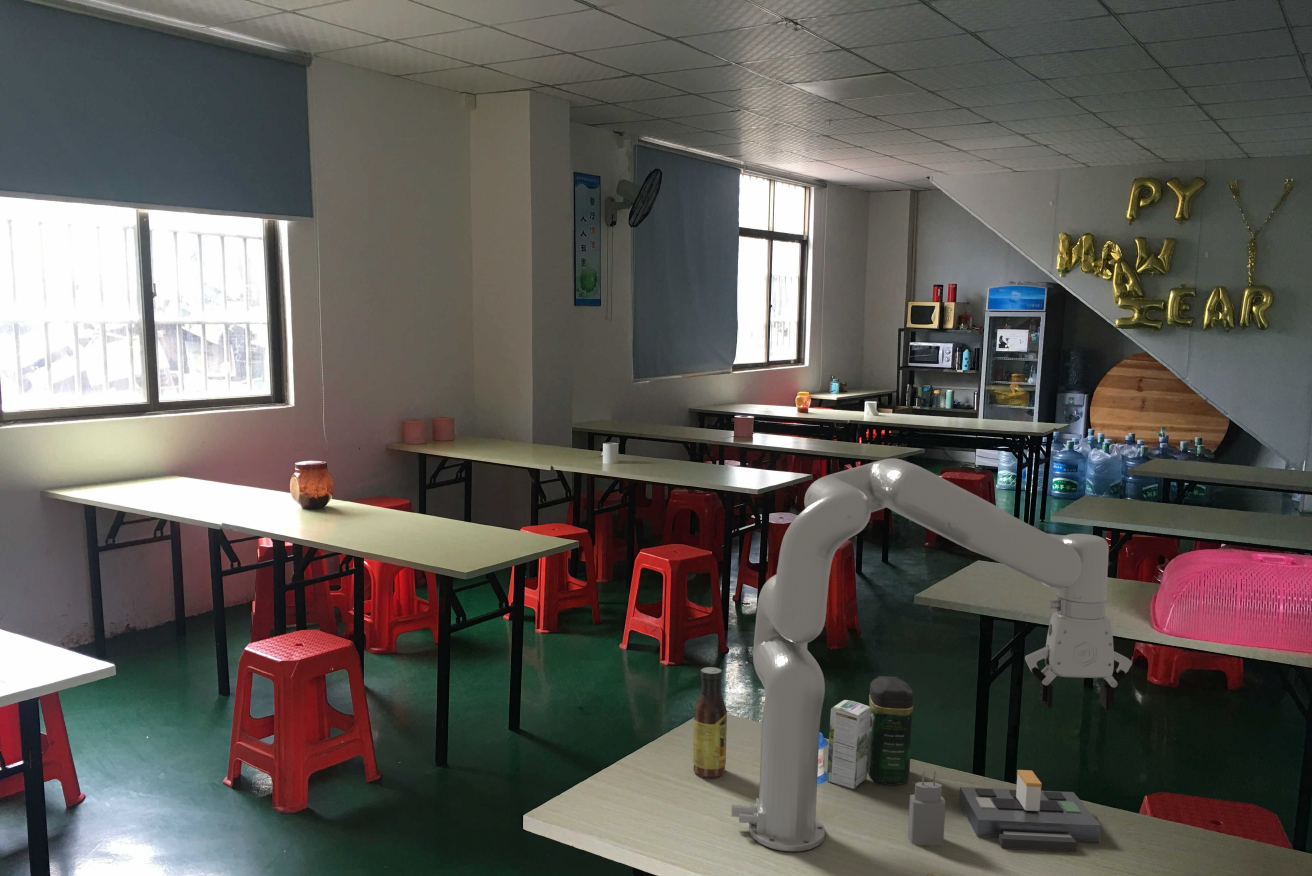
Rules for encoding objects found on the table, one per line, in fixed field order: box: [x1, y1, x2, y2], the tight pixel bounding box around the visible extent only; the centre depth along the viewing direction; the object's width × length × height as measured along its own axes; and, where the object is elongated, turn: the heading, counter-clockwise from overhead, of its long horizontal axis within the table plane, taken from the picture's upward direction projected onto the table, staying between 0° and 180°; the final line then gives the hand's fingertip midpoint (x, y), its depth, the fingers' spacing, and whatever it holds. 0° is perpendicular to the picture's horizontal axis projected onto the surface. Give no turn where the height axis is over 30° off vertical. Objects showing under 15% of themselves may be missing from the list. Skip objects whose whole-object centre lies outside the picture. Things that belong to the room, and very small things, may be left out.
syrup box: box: [826, 699, 871, 790], centre depth 183 cm, size 6×6×14 cm
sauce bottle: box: [692, 666, 728, 779], centre depth 185 cm, size 7×6×20 cm
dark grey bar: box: [998, 831, 1078, 853], centre depth 161 cm, size 12×3×2 cm, turn 87°
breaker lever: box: [1015, 769, 1043, 811], centre depth 168 cm, size 2×5×5 cm, turn 177°
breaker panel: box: [958, 786, 1101, 843], centre depth 169 cm, size 20×12×3 cm, turn 87°
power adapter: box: [907, 770, 947, 846], centre depth 162 cm, size 3×5×12 cm, turn 91°
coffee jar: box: [867, 675, 914, 786], centre depth 185 cm, size 10×8×19 cm
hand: (1075, 706), depth 166 cm, fingers open, 9 cm apart
